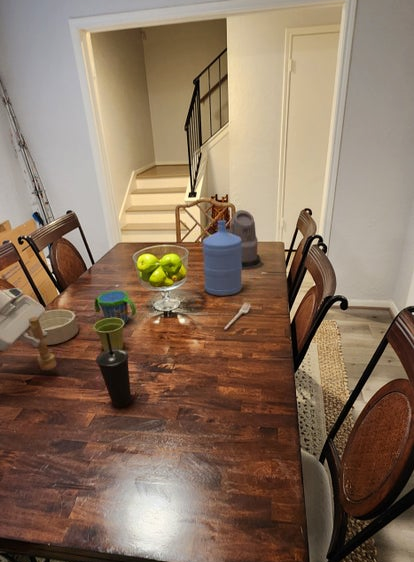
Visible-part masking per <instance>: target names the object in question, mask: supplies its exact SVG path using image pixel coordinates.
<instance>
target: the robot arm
mask: <svg viewBox="0 0 414 562" xmlns="http://www.w3.org/2000/svg"><path fill="white" fill-rule="evenodd" d="M23 293H24V291H23V290H22V289H21V288H20V287H13V288H8V289H0V351H2V352H7V351H8V350H10V349H11V348H12V347H13V346H14V345H15V344H16V343H17V342H18V341H20V342H22V343H25V344H30V345H32V346H33V347H34V348H35V347H36V348H38V347H37V346H38V345H39V344H40V343H41V340H40V339H38V338H37V337H35V338H33V337H30V335H29V333H27V332H29V331H28V330H29V329H31V326H30V323H29V319H30V318H32V317H38V319H40V318H41V317H42V316H43V314H44V313H45V312H46V310H45V307H44V306H43V305H42V304H40V303H39V302H38V301H37V300H35V298H32V297H31V296H29V295H27V294H23ZM41 329H42V327H41ZM42 332H43V335H44V338H45V337H46V336H47V335H48V334H47V333H46V332H45V331H43V329H42Z"/></svg>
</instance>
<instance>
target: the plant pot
mask: <svg viewBox="0 0 414 562" xmlns="http://www.w3.org/2000/svg"><path fill="white" fill-rule="evenodd" d="M124 326H125V323H124V321H123V320H122V319H120V318H106V319H105V318H103V319H100V320H98V321H96V322H95V323H94V324H93V327H92V328H93V330H94V331H95V332H96V334H97V336H98V338H99V341H100V344H101V346H102V349H103V352H104V351H107V350H109V346H108V342H107V337H106V333H109V337H110V342H111V346H112V349H122V350H123V348H124V334H123V333H124V331H123V330H124Z"/></svg>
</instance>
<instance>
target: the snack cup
mask: <svg viewBox="0 0 414 562" xmlns="http://www.w3.org/2000/svg"><path fill="white" fill-rule="evenodd" d="M128 305H129V306H128ZM128 307H130V309H131V317H134V316H135V315H136V313H137V309H136V306H135V304H134V302H133V300H132V299H131V298H130V297H129V295H128V292H126V291H123V290H110V291H107V292H103V293H102V294H100V295H99V296H98V297H96V298H95V299H94V311H95V313H100V311H102V314H103V317H104V319H106V318H120V319H122V320H123V321H124V324H126V323H127V322H128V320H129V309H128Z"/></svg>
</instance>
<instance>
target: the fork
mask: <svg viewBox="0 0 414 562" xmlns="http://www.w3.org/2000/svg"><path fill="white" fill-rule="evenodd" d="M251 306H252V305H251V303H249V302H244V303H243V305H242V306H241V307H240V309H239V310H238V313H236V315H235V316H234V317H233V318H232V319H231V320H230V321H229V322H228V323H227V324H226V325H225V327H224V328H223V329H224V330H227V329H228V328H229V327H230V326H231V325H232V324H233V323H234V322H235V321H236V320H237V319H238V318H240V317H241V315H242V314H247V313H249V310H250V308H251Z"/></svg>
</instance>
